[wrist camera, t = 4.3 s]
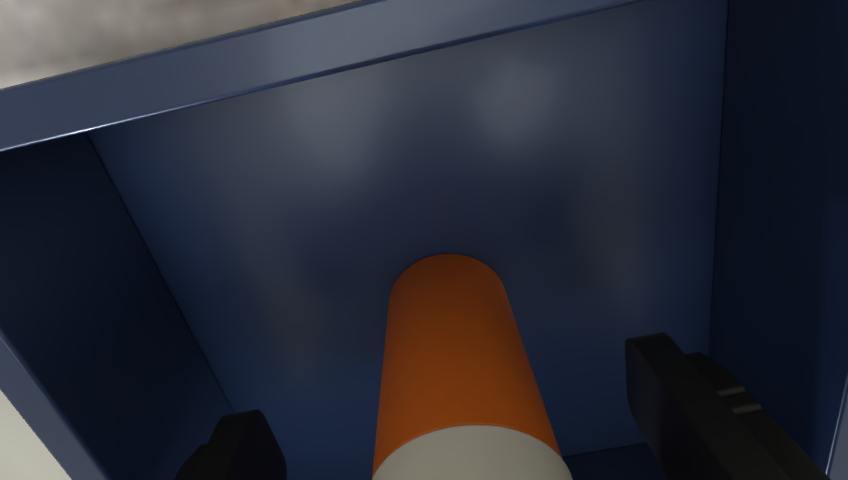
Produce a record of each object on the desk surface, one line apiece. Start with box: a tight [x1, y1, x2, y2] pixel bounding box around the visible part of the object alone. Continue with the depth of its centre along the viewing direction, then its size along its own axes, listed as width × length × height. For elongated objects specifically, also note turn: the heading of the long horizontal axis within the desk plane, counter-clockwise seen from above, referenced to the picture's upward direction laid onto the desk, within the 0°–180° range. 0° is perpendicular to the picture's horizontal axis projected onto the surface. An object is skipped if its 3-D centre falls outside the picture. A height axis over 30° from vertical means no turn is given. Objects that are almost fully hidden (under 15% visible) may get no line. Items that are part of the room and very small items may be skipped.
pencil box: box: [0, 0, 848, 480], centre depth 12 cm, size 16×17×5 cm
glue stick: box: [372, 254, 573, 480], centre depth 10 cm, size 4×4×8 cm
